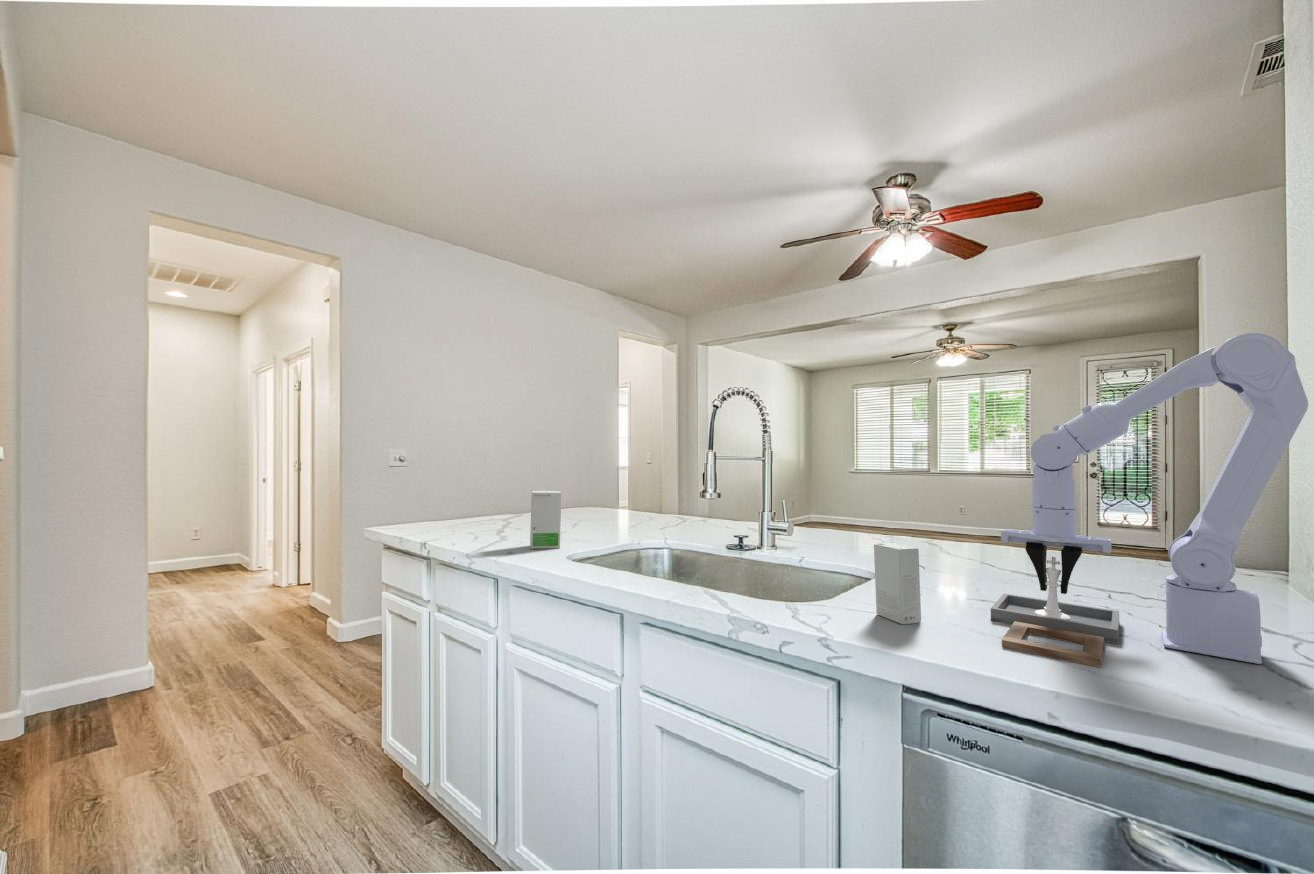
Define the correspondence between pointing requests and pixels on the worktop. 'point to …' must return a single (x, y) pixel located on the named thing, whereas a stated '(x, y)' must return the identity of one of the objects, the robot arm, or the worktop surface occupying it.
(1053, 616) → the chess piece
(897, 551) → the skincare box
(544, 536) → the skincare box
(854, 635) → the worktop surface
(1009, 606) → the parts tray
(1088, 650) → the walnut holder
